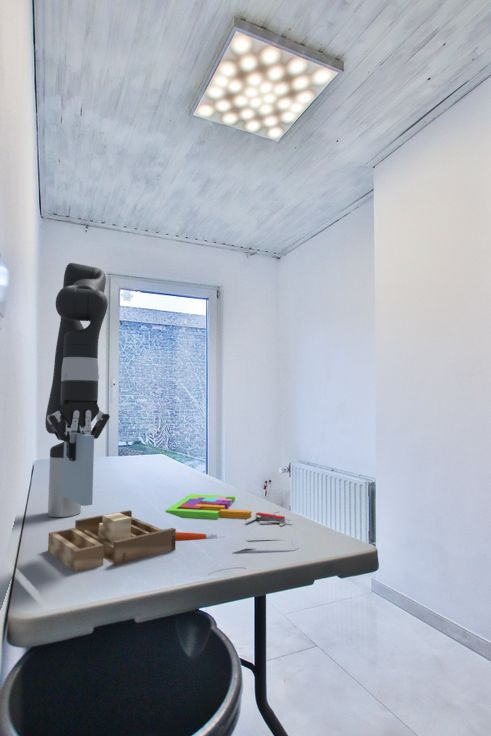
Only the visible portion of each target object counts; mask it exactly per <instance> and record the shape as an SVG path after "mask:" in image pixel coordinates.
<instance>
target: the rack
mask: <svg viewBox="0 0 491 736" xmlns="http://www.w3.org/2000/svg"><path fill="white" fill-rule="evenodd" d="M114 513H115V512H112V513H111V514H114ZM116 513H121V514H124V515H126V516H128V517H131V537H130V538H126V539H121V540H117V541H114V545H112V544H110V543H109V542H107V541H105V540H103V539H102V538H100V537H98V533H99V523H103V515H104V514H102V515H97V516H96V515H95V516H92V517H91V516H90V517H85V518H84V517H83V518H79V519H75V522H74V525H75V527H74V528H76V529H77V530H79V531H81V532H82V533H84V534H86V535H87V536H89V537H91V538H92V539H94V540H96V541H98V542H99V543H101V544H103V545H104V556H103V559H105V560H106V561H108V562H109V563H110V564H112V565H114V566H119V565H122V564H127V563H130V562H134V561H137V560H138V561H139V560H141V559H145V558H149V557H153V556H156V555H160V554H164V553H167V552H171V551H175V550H176V542H177V541H176V532H177V531H176V528H174V527H170V528H166V529H161V528H159V527H157V526H155V525H152V524H149V523H148V522H145V521H142V520H141V519H139V518H136V517H133V516H132V513H133V511H132V510H129V509H128V510H123V511H118V512H116ZM108 514H109V513H108ZM108 514H105V515H108Z"/></svg>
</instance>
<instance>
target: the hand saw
mask: <svg viewBox="0 0 491 736" xmlns="http://www.w3.org/2000/svg"><path fill="white" fill-rule="evenodd" d="M218 538H226V537H225V536H221V535H220V536H218V534H217V533H211V534H209V533H207V534H206V533H200V532H199V533H198V532H197V533H196V532H177V531H176V542H179V541H182V542H183V541H197V540H214V539H218ZM240 540H242V541H287V540H289V539H288V538H240ZM291 543H292V547H290V548H244V549H240V550H238V551H234V552H233V554H258V553H259V554H261V553H280V552H281V553H282V552H283V553H284V552H293V551H296V550H299V543H298V539H297V537H291Z"/></svg>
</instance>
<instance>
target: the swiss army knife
mask: <svg viewBox="0 0 491 736" xmlns="http://www.w3.org/2000/svg"><path fill="white" fill-rule="evenodd" d="M278 513H280V511H273V512H265V513H264V512H260V511H259V512H256V513H255V515H254V516H251V518H249V519H244V522H245V523H247V522H250V521H252V520H255V521H258V523H262V524H263V523H264V524H265V523H271V524H277V525H279V526H280V527H282V526H284V525H285V524H286V521H288V522H292V521H293V520H292V519H291V518H290V519H289V518H286V517H285V516H284V515H277V514H278Z"/></svg>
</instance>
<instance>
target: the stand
mask: <svg viewBox="0 0 491 736" xmlns="http://www.w3.org/2000/svg"><path fill="white" fill-rule="evenodd" d="M47 540H48V541H47V542H48V543H47V551H48V553H50V554H52V555H53V556H54V557H55V558H57V559H58V560H59V561H60V562H62V563H63V564H64V565H65V566H67V568H69V569H70V570H72V572H74V573H78V572H82V571H85V570H89V569H93V568H96V567H100V566H104V558H103V556H104V545H103V544H101V543H99V542H98V541H96V540H94V539H92V538H91V537H89V536H87V535H86V534H84V533H82V532H81V531H79V530H77V529H76V528H75V527H71V528H66V529H61V530H56V531H55V530H54V531H50V532H48V539H47Z"/></svg>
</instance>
